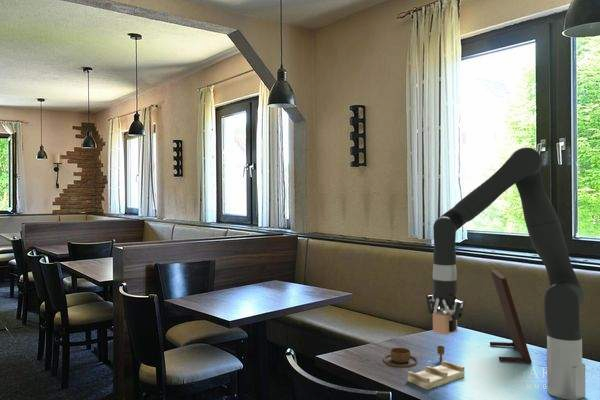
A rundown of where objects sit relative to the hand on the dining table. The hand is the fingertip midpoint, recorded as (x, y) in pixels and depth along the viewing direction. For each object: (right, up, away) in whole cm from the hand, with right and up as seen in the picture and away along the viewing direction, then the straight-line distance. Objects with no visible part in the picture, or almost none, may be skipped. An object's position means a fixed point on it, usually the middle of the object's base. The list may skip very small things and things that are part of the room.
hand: (444, 329), depth 160 cm
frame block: (0, -1, 0) cm, 1 cm away
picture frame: (+31, -15, +22) cm, 41 cm away
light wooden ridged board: (-4, -15, -3) cm, 16 cm away
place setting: (-8, -16, +12) cm, 22 cm away
